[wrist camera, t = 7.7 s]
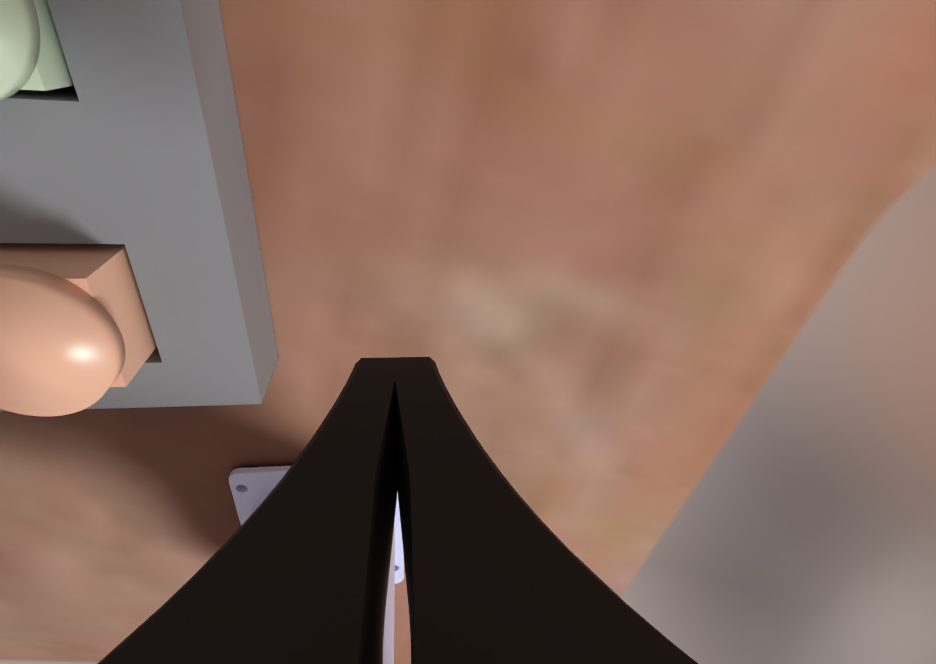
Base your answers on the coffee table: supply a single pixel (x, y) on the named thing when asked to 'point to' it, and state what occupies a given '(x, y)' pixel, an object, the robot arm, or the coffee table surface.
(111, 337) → the terracotta button
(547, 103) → the coffee table surface
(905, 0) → the coffee table surface
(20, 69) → the sage button
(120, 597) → the coffee table surface
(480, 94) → the coffee table surface
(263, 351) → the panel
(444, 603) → the robot arm
